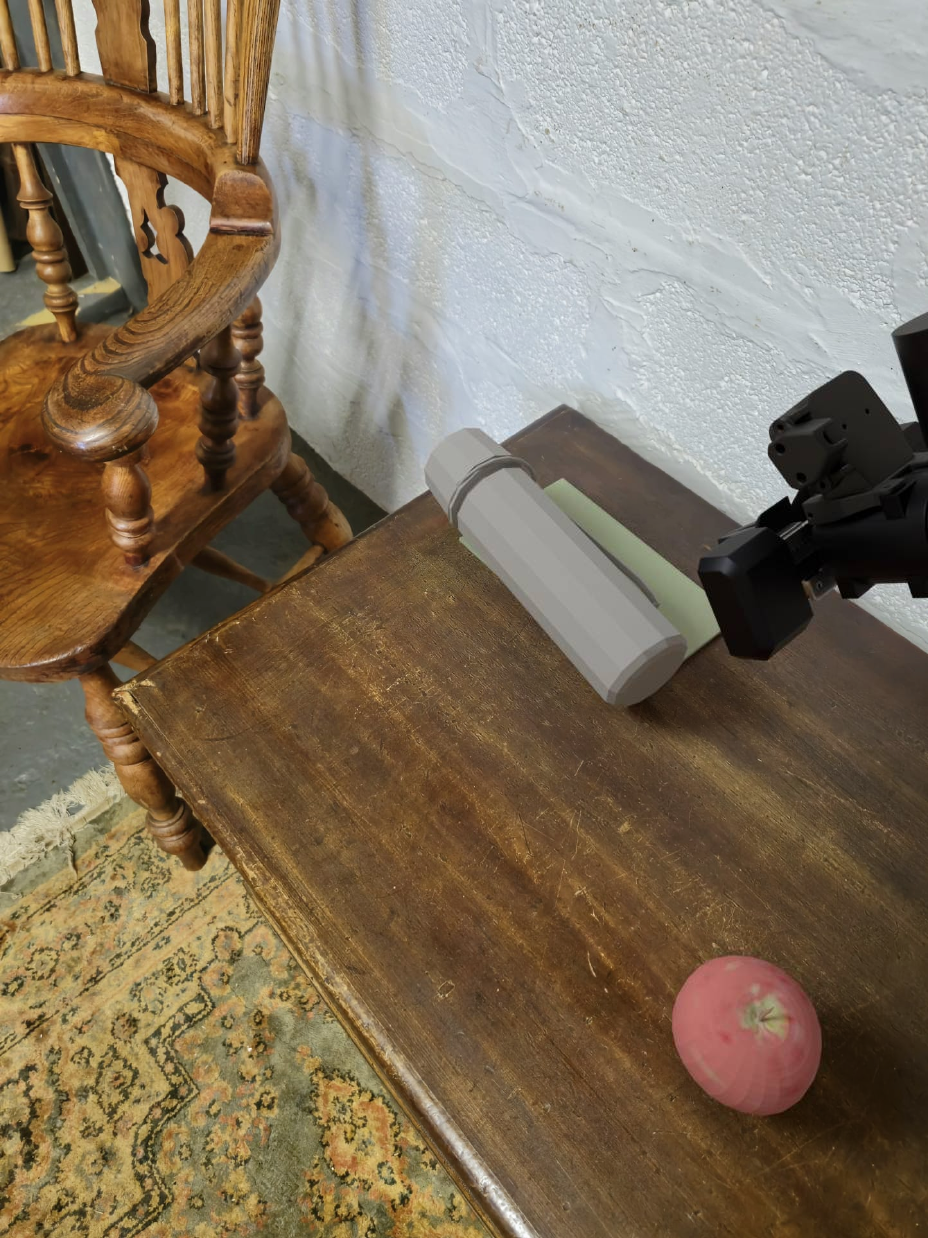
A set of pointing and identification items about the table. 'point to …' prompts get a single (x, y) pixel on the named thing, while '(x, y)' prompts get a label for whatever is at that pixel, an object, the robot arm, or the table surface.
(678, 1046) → the apple
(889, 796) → the table surface
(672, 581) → the mat
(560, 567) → the water bottle
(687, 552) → the table surface
